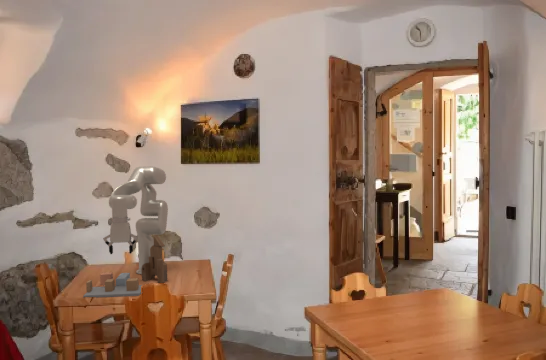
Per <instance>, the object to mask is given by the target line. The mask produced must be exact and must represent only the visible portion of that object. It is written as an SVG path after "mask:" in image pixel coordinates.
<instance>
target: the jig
mask: <svg viewBox="0 0 546 360" xmlns="http://www.w3.org/2000/svg"><path fill="white" fill-rule="evenodd" d="M85 284H86V285H85V287H86V293H84V294H83V297H82V298H84V297H96V298H116V297H117V298H119V297H139V295H140V294H141V295H142V293H141V286H142V285H143V284H139V278H137V277H135V278H134V277H133V278H132V277H130V279H128V280H127V281H126V286H116V283H115V279H114V278H113V279H107V280H106V281H105V286H93V279H90V280H88V281H86V283H85ZM141 295H140V296H141Z"/></svg>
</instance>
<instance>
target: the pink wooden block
mask: <svg viewBox="0 0 546 360" xmlns="http://www.w3.org/2000/svg"><path fill="white" fill-rule="evenodd" d="M99 279H100V280H99V282H100V285H103V286H102V287H105V286H104V285H105V281H106V280H107V279H114V273H113V272H102V273H101V272H100V273H99Z"/></svg>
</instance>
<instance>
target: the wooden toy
mask: <svg viewBox="0 0 546 360" xmlns="http://www.w3.org/2000/svg"><path fill="white" fill-rule="evenodd" d="M153 239H154V245H153V246H152V247H151V248H150V257H149V263H145V264H143V266H142V274H141V281H143V282H144V281H145V282H147V281H151V280H155V278H156V277H157V284H159V283H162V284H164V283H165V282H169V281H168V264H167V263H166V262H165V261H164V258H163V247H165V243H164V242H163V241H162V239H161V237H160V236H159V235H153Z"/></svg>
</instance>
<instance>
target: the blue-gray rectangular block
mask: <svg viewBox="0 0 546 360" xmlns="http://www.w3.org/2000/svg"><path fill="white" fill-rule="evenodd" d="M130 278H131V272H121V273H120V274H119V275H118V276H117V277H116V278H115V286H126V281H127V280H128V279H130Z"/></svg>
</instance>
